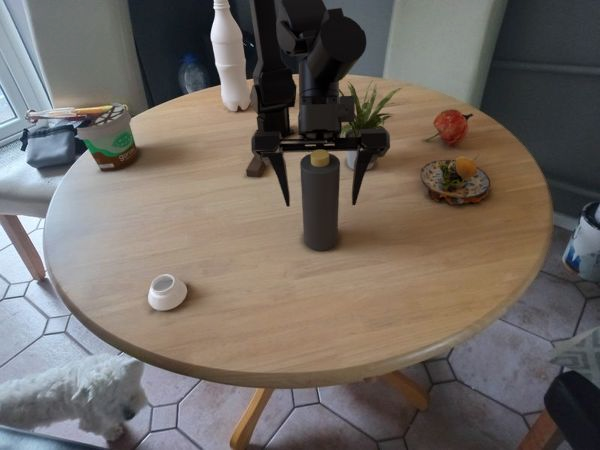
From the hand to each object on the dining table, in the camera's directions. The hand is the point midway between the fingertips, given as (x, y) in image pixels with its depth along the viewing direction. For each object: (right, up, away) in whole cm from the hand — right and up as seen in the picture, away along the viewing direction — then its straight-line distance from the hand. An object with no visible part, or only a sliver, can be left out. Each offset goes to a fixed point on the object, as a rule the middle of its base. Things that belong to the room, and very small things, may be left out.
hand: (320, 205), depth 52 cm
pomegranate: (+28, +15, +26) cm, 41 cm away
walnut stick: (-11, +10, +23) cm, 27 cm away
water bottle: (-19, +27, +44) cm, 55 cm away
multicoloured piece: (+24, +4, +15) cm, 29 cm away
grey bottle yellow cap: (0, -5, +6) cm, 8 cm away
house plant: (+8, +9, +22) cm, 25 cm away
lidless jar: (-21, -13, -1) cm, 24 cm away
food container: (-39, +11, +26) cm, 49 cm away
